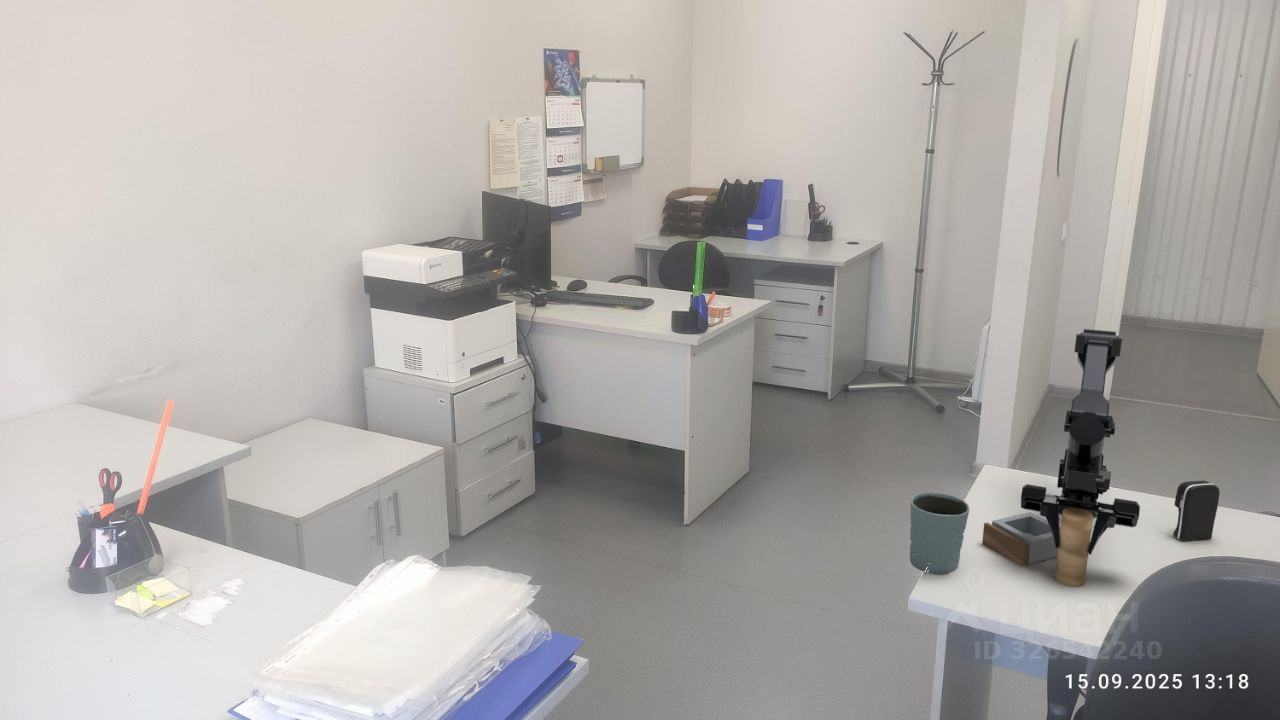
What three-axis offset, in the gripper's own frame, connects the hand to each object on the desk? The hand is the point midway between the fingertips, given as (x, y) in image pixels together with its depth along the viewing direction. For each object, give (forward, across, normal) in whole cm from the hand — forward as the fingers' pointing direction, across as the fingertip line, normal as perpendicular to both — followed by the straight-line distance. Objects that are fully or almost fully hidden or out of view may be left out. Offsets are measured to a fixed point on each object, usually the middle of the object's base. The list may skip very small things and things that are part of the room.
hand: (1073, 550), depth 154 cm
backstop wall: (0, -11, +9) cm, 15 cm away
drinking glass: (+6, -22, +3) cm, 23 cm away
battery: (-16, +20, +26) cm, 37 cm away
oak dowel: (+4, 0, +6) cm, 7 cm away
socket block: (-3, -7, +12) cm, 15 cm away
